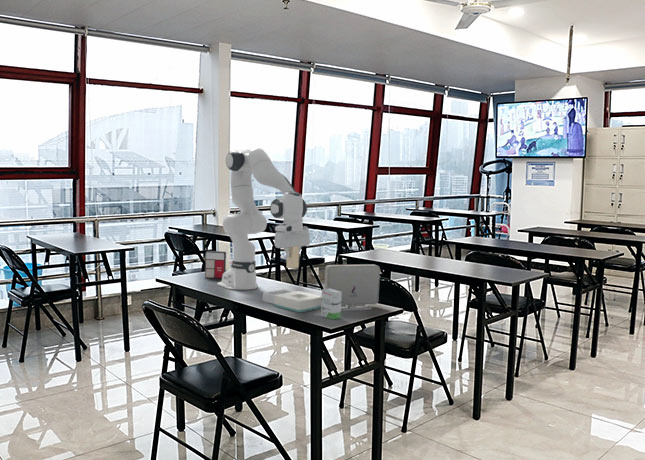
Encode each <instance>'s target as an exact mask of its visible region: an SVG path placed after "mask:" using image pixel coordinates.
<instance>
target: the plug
mask: <svg viewBox="0 0 645 460" xmlns="http://www.w3.org/2000/svg"><path fill="white" fill-rule="evenodd" d="M289 252H290V253H291V257H286V268H287V269H298V268H299V266H300V252H299V246H295V247H290V250H289Z"/></svg>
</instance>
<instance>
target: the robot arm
mask: <svg viewBox="0 0 645 460" xmlns="http://www.w3.org/2000/svg"><path fill="white" fill-rule="evenodd" d="M225 164H226V167H227V168H228V170H229V171H231V172H230V190H231V191H230V192H231V202H232V204H233V205H235V206H236V207H237V208H238V209H239V211H240V213H232V214H229V215H226V216H225V217H224V219H223V221H222V228H223V231H224V232H225V233H226V234H227V235H228V236H229V238H230V241H231V242H232V246H233V260H231V261H230V262H229V263H231V265H230V268H229V269H227V270H226V271H225V273H223V276H222V279H221V281H217V282H216V283H217V284H216V285H217V286H220V287H222V288H225V289H227V290H241V291H243V290H246V291H247V290H254V289H257V288H258V285H259V284H258V282H257V271H256V265H257V263H256V247H255V245H254V244H253V242H251V241H250V240H249V235H256V234H259V233H260V234H261V233H262V232H264V231H265V230H266V229H267V225H268V221H267V217H266V216H265V215H264V214H263V213H262V212H261V211H260V210H259V208H258V207H257V205H256V202H255V198H254V197H255V196H254V191H253V182H252V176H253V177H254V179H255V181H256V182H258V184H261V185H263V186H267V187H271V188H274V189H276V190H278V191H280V192H281V193H282V196H281V197H277V198H274V199H273V200H272V202H271V203H270V209H269V211H270V214H271V216H272V217H273V218H275V219H279V220H282V219H283V222H282V223H280V224H278V225H276V226H275V233H274V246H275V248H277V249H283V250H284V252H285V257H286V258H287V257H291V253H290V252H289V250H290V247H295V246H299V253H300V252H301V250H302V247H306V246H308V247H309V246H310V244H311V236H310V228H309V227H308V226H305V225H304V226H303V223H304V222H303V221H304V219H303V218H304V217H305V215H306V214H307V212H308V205H307V203H306V201H305V200H304V199H303V196H302V194H301V193H300V192H298V191H296V189H295V188H294V186H293V185H292V184H291V182H290V181H289V179H288V178H287V177H286V176H285V175H284V173H283V174H282V173H281V172H280V171H279V170H278V169H277V167H276V166H275V165H274V163H273V162H272V160H271V158H270V157H269V155H268V154H267V153H266V151H265V150H264V149H262V148H259V147H256V148H253V149H241V150H240V149H239V150H237V149H236V150H235V149H234V150H231V151H229V152H228V153H227V155H226V158H225Z"/></svg>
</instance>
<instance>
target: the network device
mask: <svg viewBox="0 0 645 460" xmlns="http://www.w3.org/2000/svg"><path fill="white" fill-rule="evenodd" d="M380 275H381V268H380V266H379V265H376V264H373V263H372V264H368V263H367V264H366V263H365V264H328V265H326V266H325V268H324V288H323V289H334V290H337V291H340V292H342V296H341V307H345V308H341V312H342V311H343V312H344V311H362V310H363V311H364V310H365V311H366V310H367V311H369V310H372V306H371V305H377V304H378V303H379V300H380V299H379V295H380V278H381V277H380ZM362 306H363V307H362Z"/></svg>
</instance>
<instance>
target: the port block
mask: <svg viewBox="0 0 645 460" xmlns="http://www.w3.org/2000/svg"><path fill="white" fill-rule="evenodd" d="M321 301H322V295H318V294H314V293H309V292H305V291H301V290H297V291H294V292H291V293H285V294H279V295H275V297H274V304H273V305H274V306H273V307H276V308H280V309H283V310H286V311H287V310H289V311H292V312H296V313H304V312H308V310H309V311H312V309H314V310H318V309H321Z"/></svg>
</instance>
